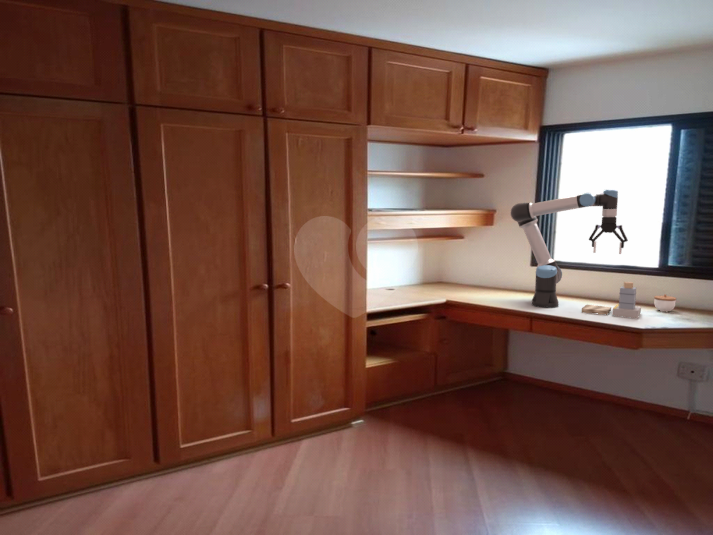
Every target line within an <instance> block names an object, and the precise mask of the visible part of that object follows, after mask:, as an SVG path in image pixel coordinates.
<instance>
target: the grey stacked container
mask: <svg viewBox="0 0 713 535" xmlns="http://www.w3.org/2000/svg"><path fill="white" fill-rule="evenodd" d="M636 296H637V287H635V286H633V289H632V288H624V285H623V286H620V288H619V298H618V299H619V301H618V304H619V308H624V309H634V308H635V306H636V302H637V301H636V299H637V298H636Z"/></svg>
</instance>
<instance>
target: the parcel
mask: <svg viewBox="0 0 713 535" xmlns="http://www.w3.org/2000/svg"><path fill="white" fill-rule="evenodd" d="M623 286H624V288H632V289H633V287H634V282H633V281H623Z"/></svg>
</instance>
